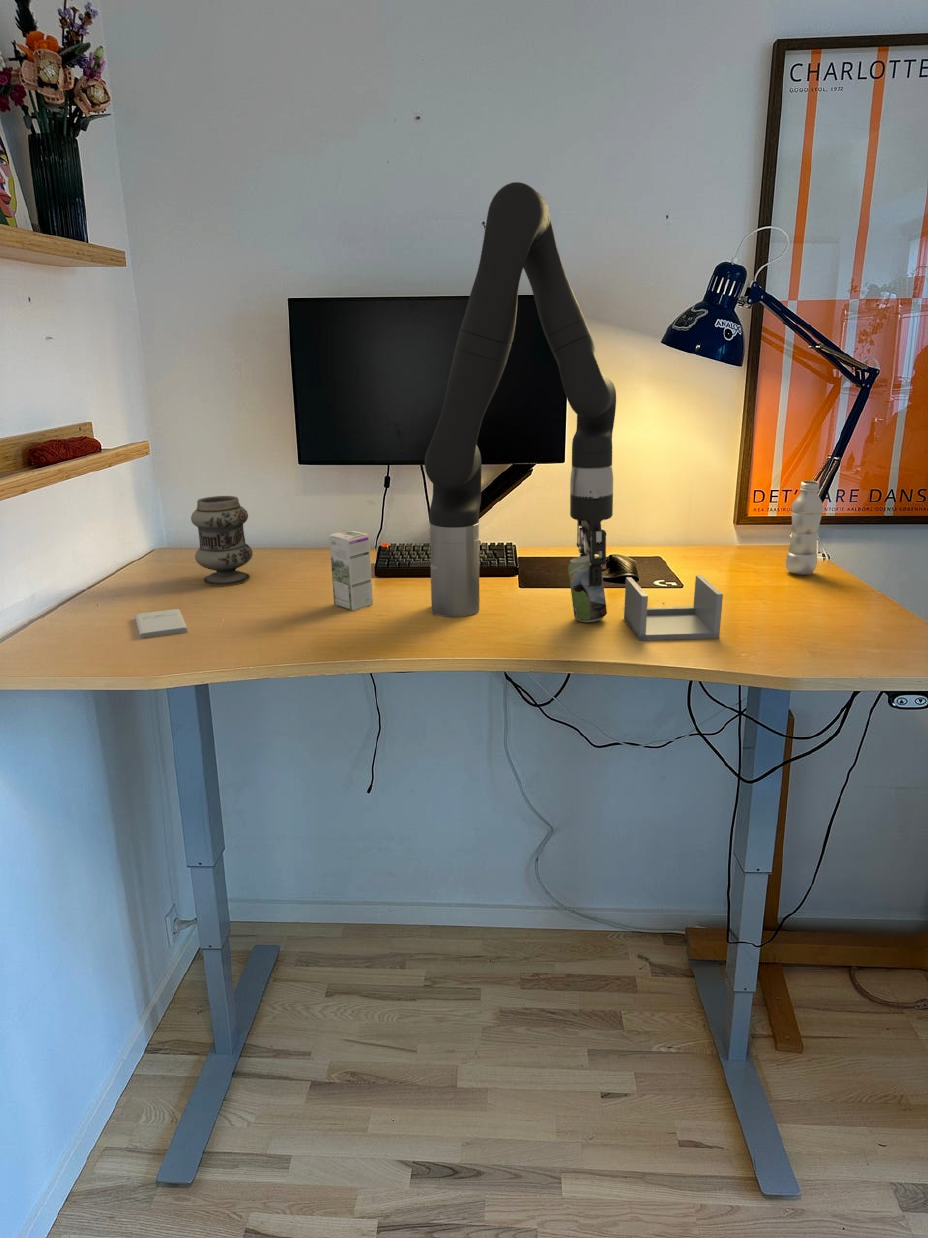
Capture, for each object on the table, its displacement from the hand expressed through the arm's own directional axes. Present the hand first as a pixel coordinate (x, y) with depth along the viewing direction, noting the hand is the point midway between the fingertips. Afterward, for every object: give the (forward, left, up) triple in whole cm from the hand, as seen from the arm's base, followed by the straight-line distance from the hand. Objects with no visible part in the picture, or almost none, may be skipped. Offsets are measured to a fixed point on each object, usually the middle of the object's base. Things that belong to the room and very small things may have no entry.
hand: (590, 579), depth 160 cm
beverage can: (0, 0, -8) cm, 8 cm away
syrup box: (-44, +13, -8) cm, 47 cm away
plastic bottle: (+52, +27, -8) cm, 59 cm away
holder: (+14, -6, -8) cm, 17 cm away
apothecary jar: (-73, +34, -8) cm, 81 cm away
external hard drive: (-79, +4, -9) cm, 80 cm away
